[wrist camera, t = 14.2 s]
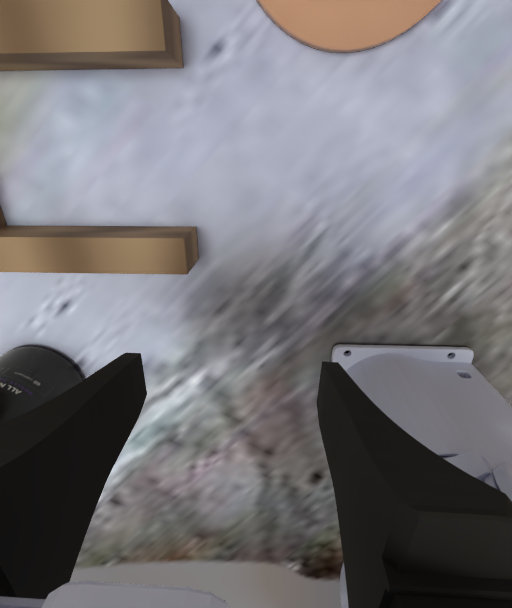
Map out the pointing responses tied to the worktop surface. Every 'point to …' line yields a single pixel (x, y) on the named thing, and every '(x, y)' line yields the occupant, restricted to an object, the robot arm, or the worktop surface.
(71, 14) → the wooden u-shaped bracket
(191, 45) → the worktop surface
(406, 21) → the terracotta pad
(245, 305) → the worktop surface
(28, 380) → the supplement bottle
